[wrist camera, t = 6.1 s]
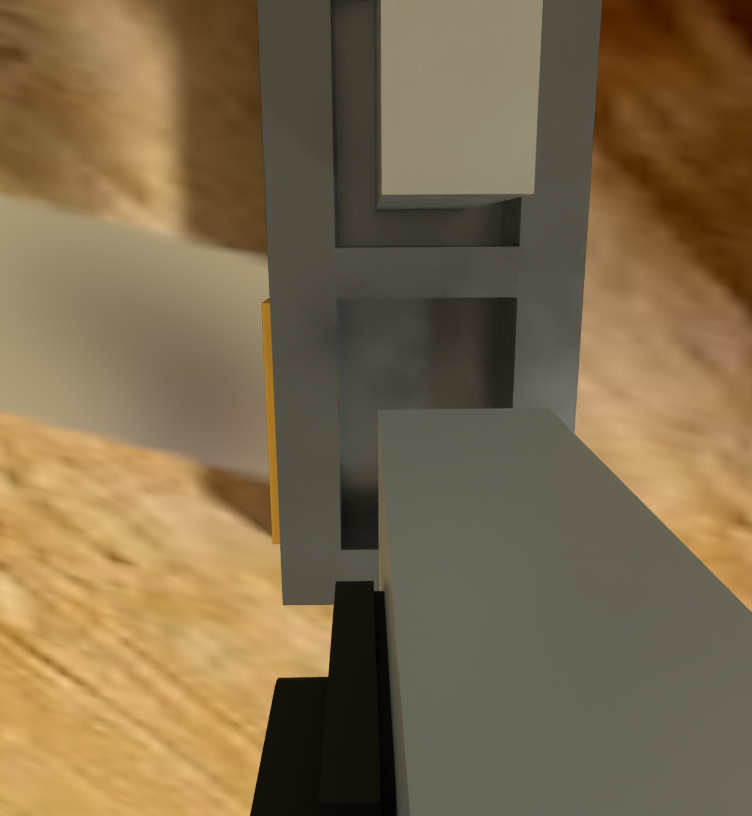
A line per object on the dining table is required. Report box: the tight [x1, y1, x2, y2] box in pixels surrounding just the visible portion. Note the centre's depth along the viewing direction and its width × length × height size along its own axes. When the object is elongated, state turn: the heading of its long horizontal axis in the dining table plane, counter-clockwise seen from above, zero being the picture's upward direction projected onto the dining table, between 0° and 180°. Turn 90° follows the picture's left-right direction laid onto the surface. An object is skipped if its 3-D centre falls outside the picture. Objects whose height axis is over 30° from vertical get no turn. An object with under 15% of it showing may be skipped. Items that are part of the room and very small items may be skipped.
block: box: [378, 408, 752, 816], centre depth 8 cm, size 3×6×10 cm, turn 0°
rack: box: [257, 0, 602, 605], centre depth 20 cm, size 10×22×11 cm, turn 0°
